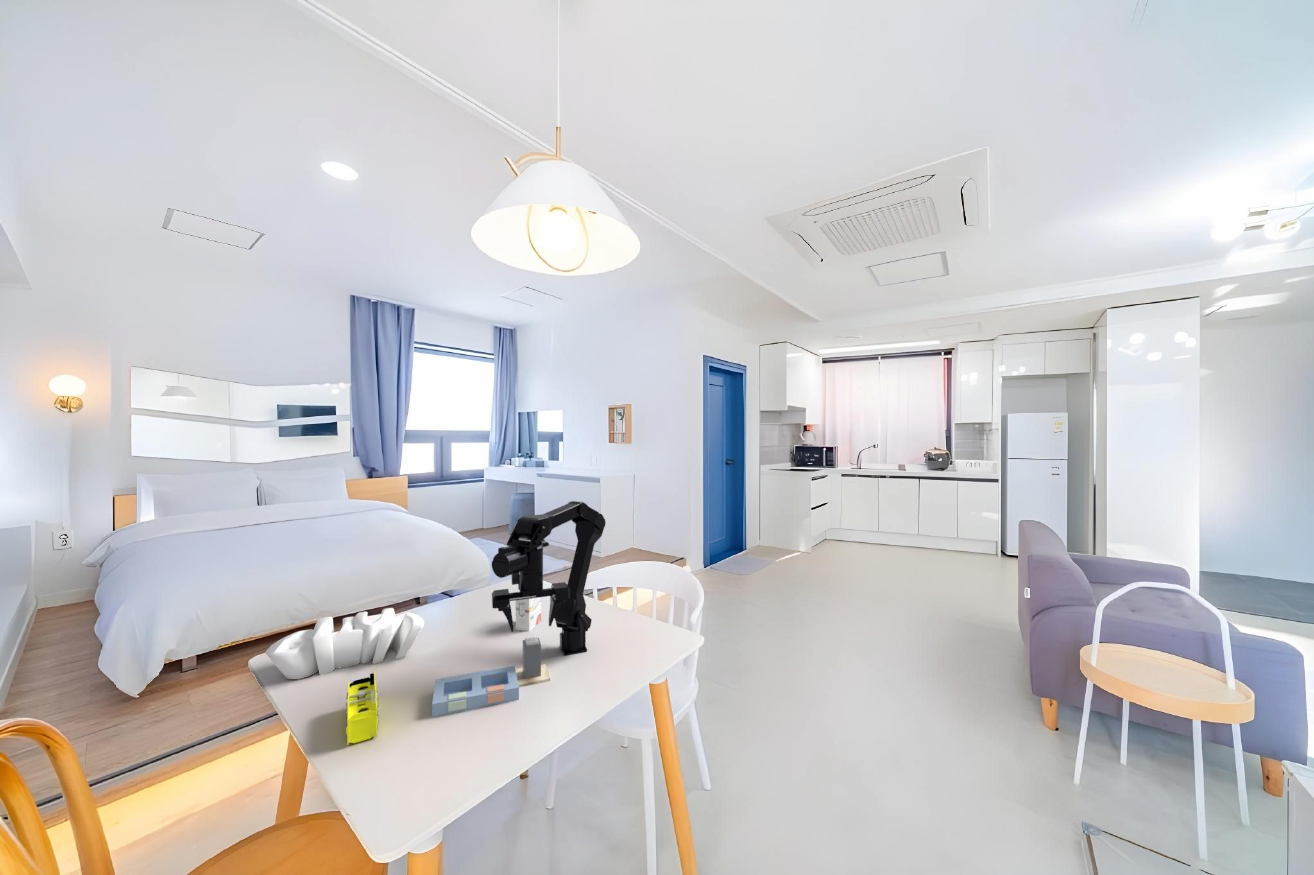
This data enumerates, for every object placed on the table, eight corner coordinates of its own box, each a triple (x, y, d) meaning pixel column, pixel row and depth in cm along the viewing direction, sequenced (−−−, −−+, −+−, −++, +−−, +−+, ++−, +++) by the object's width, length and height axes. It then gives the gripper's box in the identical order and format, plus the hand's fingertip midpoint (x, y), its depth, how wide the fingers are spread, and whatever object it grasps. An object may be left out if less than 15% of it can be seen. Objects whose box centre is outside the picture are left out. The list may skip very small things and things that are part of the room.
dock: (514, 677, 116) (514, 664, 116) (519, 701, 105) (519, 686, 105) (435, 692, 109) (435, 678, 109) (431, 718, 99) (432, 703, 99)
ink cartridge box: (527, 620, 152) (527, 575, 152) (541, 621, 151) (541, 576, 151) (514, 630, 144) (514, 583, 144) (529, 632, 143) (529, 584, 143)
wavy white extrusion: (425, 636, 139) (425, 602, 139) (423, 660, 125) (424, 621, 125) (281, 660, 124) (281, 621, 124) (259, 690, 110) (259, 646, 110)
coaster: (545, 666, 121) (545, 663, 121) (550, 681, 114) (550, 678, 114) (513, 672, 118) (513, 669, 118) (516, 688, 111) (516, 685, 111)
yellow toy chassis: (379, 739, 92) (379, 698, 92) (345, 750, 89) (345, 707, 89) (376, 701, 105) (376, 665, 106) (346, 709, 102) (346, 671, 102)
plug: (538, 668, 119) (538, 635, 119) (540, 676, 115) (540, 641, 115) (522, 671, 117) (522, 638, 117) (524, 679, 113) (524, 644, 113)
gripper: (562, 555, 127) (562, 612, 127) (491, 562, 120) (491, 622, 120) (570, 566, 117) (570, 627, 117) (492, 574, 110) (492, 639, 110)
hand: (531, 628), depth 116 cm, fingers open, 9 cm apart
